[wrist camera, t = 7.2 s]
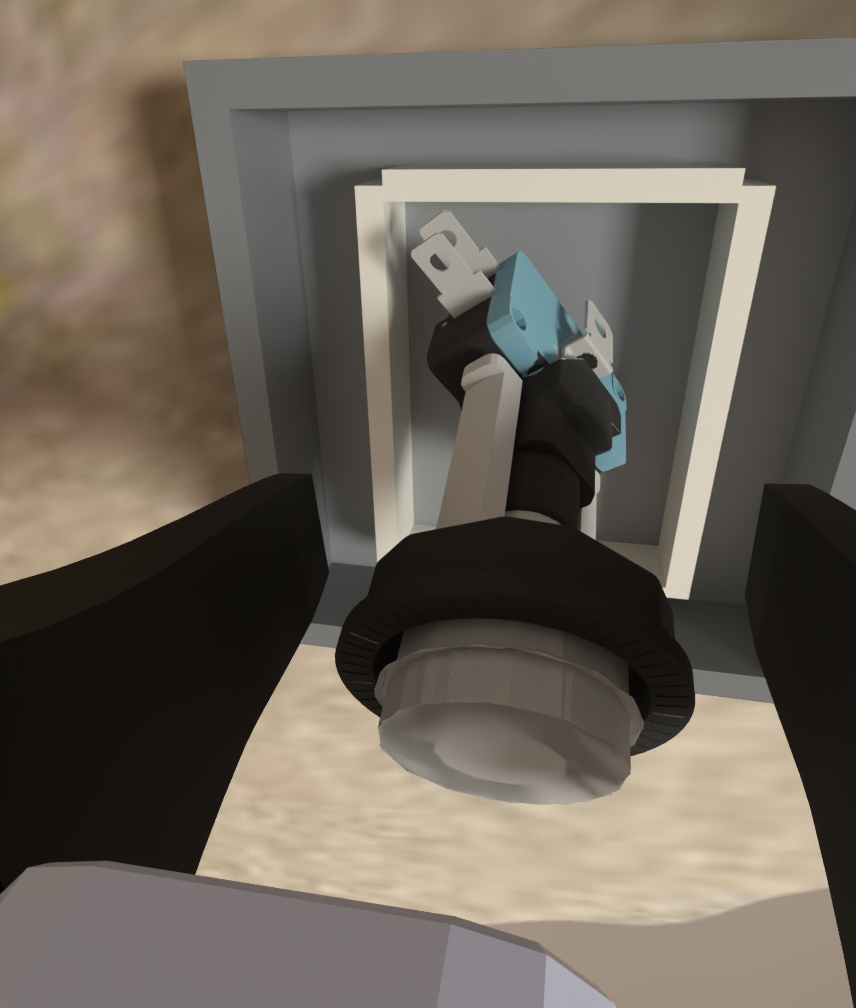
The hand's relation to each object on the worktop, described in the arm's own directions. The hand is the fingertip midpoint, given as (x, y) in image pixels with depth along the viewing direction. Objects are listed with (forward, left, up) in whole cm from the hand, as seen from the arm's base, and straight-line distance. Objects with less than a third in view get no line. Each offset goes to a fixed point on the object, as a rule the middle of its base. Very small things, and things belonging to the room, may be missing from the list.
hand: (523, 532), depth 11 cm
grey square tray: (0, 0, -8) cm, 8 cm away
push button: (0, -2, -7) cm, 7 cm away
